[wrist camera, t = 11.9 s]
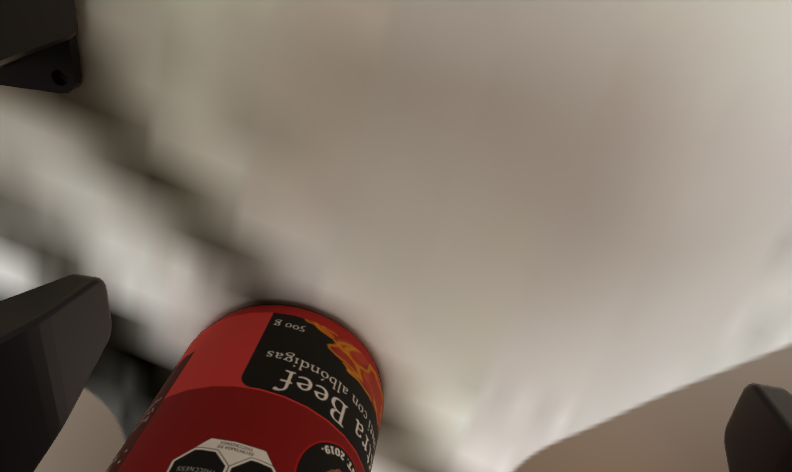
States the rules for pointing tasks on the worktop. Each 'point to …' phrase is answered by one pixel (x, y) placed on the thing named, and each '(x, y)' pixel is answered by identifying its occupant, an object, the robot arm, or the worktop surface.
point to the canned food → (263, 400)
